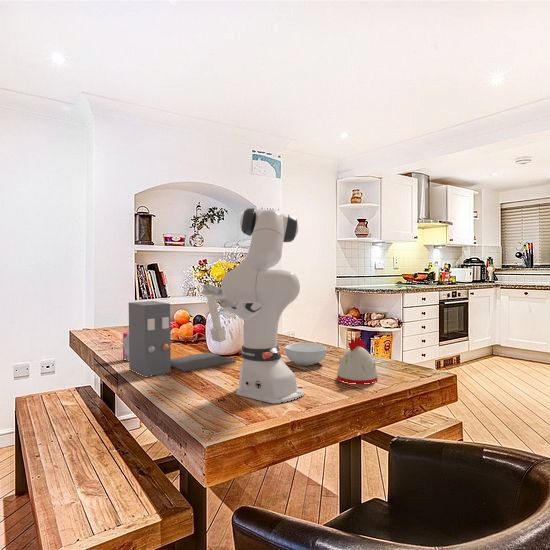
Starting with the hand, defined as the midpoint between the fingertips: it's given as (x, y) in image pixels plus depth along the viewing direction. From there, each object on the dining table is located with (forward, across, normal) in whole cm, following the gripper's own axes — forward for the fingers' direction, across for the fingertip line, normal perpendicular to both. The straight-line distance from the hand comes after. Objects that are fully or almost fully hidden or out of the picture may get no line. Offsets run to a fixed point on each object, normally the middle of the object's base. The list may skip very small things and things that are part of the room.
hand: (206, 285), depth 174 cm
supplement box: (+4, -23, +39) cm, 45 cm away
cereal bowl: (-40, +31, +14) cm, 52 cm away
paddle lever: (-11, 0, +9) cm, 14 cm away
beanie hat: (-37, +59, +16) cm, 71 cm away
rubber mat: (-12, 0, +30) cm, 32 cm away
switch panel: (+6, 0, +40) cm, 41 cm away
